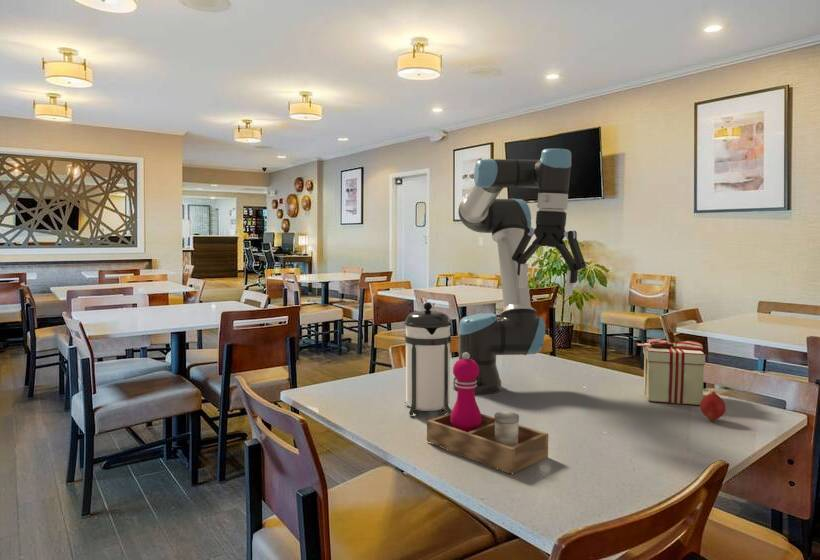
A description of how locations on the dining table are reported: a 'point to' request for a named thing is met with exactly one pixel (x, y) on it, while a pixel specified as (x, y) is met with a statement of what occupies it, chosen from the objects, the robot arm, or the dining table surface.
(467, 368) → the pepper mill
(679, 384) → the gift box
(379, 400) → the dining table surface
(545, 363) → the dining table surface
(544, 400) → the dining table surface
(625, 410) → the dining table surface
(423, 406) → the coffee press
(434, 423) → the caddy
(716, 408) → the onion
